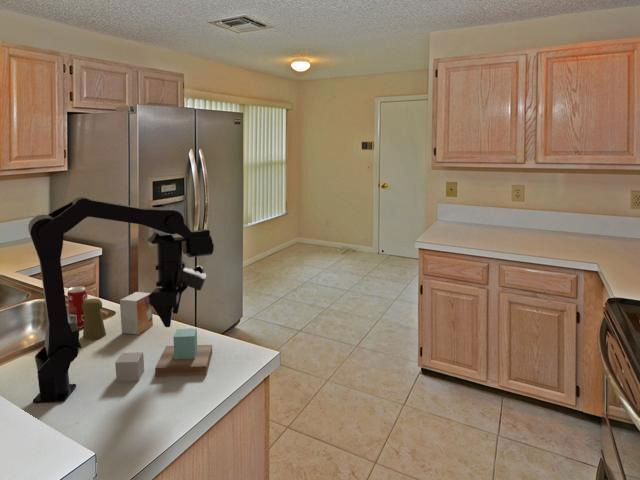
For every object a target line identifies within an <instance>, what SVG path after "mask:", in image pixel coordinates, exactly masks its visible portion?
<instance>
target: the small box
mask: <svg viewBox="0 0 640 480" xmlns="http://www.w3.org/2000/svg"><path fill="white" fill-rule="evenodd" d="M150 294H151V292H141V291H135V292H132V294H129V295H127V296H125V297H123V298H121V299H119V310H120V311H119V312H120V326H121V333H122V334H128V335H140V334H141V333H144V331H146V330H147V329H149V328H151V327H152V326H154V324H153V323H154V322H153V321H154V320H153V306H151V305H150V304H149V300H148V296H149V295H150Z"/></svg>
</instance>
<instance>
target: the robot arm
mask: <svg viewBox="0 0 640 480" xmlns="http://www.w3.org/2000/svg"><path fill="white" fill-rule="evenodd" d="M89 217H90V218H95V219H103V220H108V221H115V222H123V223H128V224H136V225H141V226H145V227H147V228H150V229H153V230H156V231H160V232H162V233H165V234H159V233H158V232H156V231H155V232H153V233H152V234H151V236H150V237H148V239H147V242H148V243H150V244H152V245H156V255H157V264H156V265H155V271H157V281H156V282H155V285H156V288H154V289H153V290H152V291H151V292H150V293H151V294H150V295H149V296H148V300H149V304H150V305H151V306H152V309H154V311H155V312H156V314H157V315H158V317H159V319H160V321H161V322H162V324H163V326H164V327H165V328H170V327H171V325H172V317H173V314H175V315H177V314H178V313H179V309H180V303H181V301H182V295H183V292H184V291H186V289H187V288H188V287H189V288H192V289H194V290H196V291H201V290H202V288H203V287H204V283H205V282H206V279H207V273H206V272H205V271H204V266H201V265H196V266H195V267H194V268H192V267H191V268H188V267H186V263H185V261H184V260H183V254H184V255H186V256H187V258H189V259H190V258H196V257H206V256H212V255H213V253H214V248H215V245H214V243H213V239H212V236H211V233H210V232H211V231H210V230H209V229H207V228H201V229H198V230H197V229H196V230H191V229H189V227H188V226H187V225H186V224H185V219H184V216H183V215H182V213H181V212H180V211H178V210H175V209H172V208H170V207H166V206H165V207H164V206H163V207H160V206H159V207H155V206H154V207H153V206H152V207H138V206H132V205H127V204H121V203H115V202H108V201H104V200H97V199H91V198H88V197H86V196H78V197H76V198H74V199H73V200H72V201H70V202H69V203H67V204H64V205H63V206H61V207H59V208H57V209H54V210H53V211H51V212H49V213H48V214H39V215H36V216H35V217H33V218H32V219H31V220H30V221H29V224H28V227H27V229H28V232H29V235H30V238H31V241H32V244H33V247H34V249H35V252H36V255H37V257H38V260H39V267H40V269H39V270H40V275H41V281H42V282H41V283H42V289H43V297H44V302H45V303H44V305H45V311H46V319H47V322H46V328H45V336H44V346H43V347H42V348H41V349H40V350H39V351H38V352H37V353H36V354H35V355H34V360H35V364H36V370H37V371H36V372H37V381H38V390H39V393H38V394H36V396H35V397H34V398H33V399H32V402H33V403H34V404H35V403H38V404H39V403H53V402H55V403H57V402H65V401H66V400H67V399H68V398H69V396H70V395H71V394H72V393H73V391H74V390H75V389H76V387H77V384H76V383H70V375H69V370H70V366H71V365H72V364H71V363H73V362H74V361H75V359H76V358H78V355H79V349H82V345H81V342H80V328H79V329H78V327H77V325H76V323H75V322H73V323H71V324H70V321H69V316H68V310H67V303H66V294H65V286H64V285H65V284H64V279H63V278H64V277H63V270H62V262H61V259H62V253H63V246H64V235H65V234H66V233H68V232H69V231H71V230H72V229H73V228H75V227H76V226H77V225H78V224H79V223H81V222H82V221H83V220H85V219H87V218H89ZM175 234H176V235H177V236H175V237H174V235H175Z"/></svg>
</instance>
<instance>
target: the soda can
mask: <svg viewBox="0 0 640 480" xmlns="http://www.w3.org/2000/svg"><path fill="white" fill-rule="evenodd" d="M67 290H68V291H67V304H68V305H67V306H68V315H69V316H68V317H69V324H71V323H73V322H75V323H76V325H77V327H78V328H79V329H81V328H80V327H84V314H85V312H84V311H83V309H82V303H83V302H84V301H85V300H88V299H89V298H88V290H87V289H86V287H85V286H83V285H82V286H80V285H79V286H72V287H70V288H68V289H67Z"/></svg>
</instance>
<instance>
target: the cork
mask: <svg viewBox="0 0 640 480" xmlns="http://www.w3.org/2000/svg"><path fill="white" fill-rule="evenodd" d="M82 309H83V311H84V312H85V314H84V328H82V329H83V332H82V334H83V335H82V338H83V340H87V341H92V340H93V341H96V340H99V339H102V338H104V337H106V336H107V332H106V331H107V330H106V328H105V324H104V319H103V315H102V309H103V302H102V300H101V299H99V298H88V300H85V301H84V302H83V303H82Z"/></svg>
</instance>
